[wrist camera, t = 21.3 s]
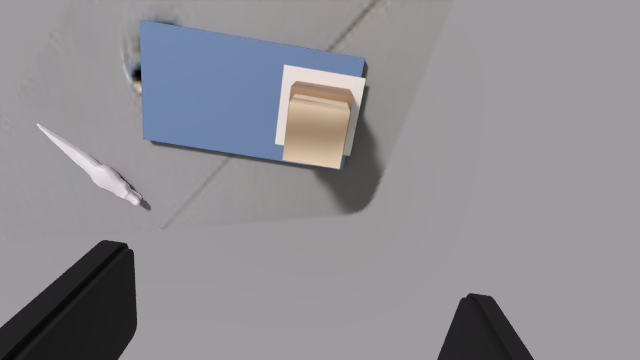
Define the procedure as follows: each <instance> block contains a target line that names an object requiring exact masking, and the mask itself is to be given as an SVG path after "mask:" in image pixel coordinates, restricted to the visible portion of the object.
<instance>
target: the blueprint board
mask: <svg viewBox="0 0 640 360" xmlns="http://www.w3.org/2000/svg"><path fill="white" fill-rule="evenodd" d="M140 45H141V78H142V112H143V139H145V140H151V141H158V142H164V143H170V144H177V145H183V146H189V147H196V148H202V149H208V150H215V151H221V152H227V153H234V154H240V155H246V156H253V157H259V158H265V159H272V160H278V161H284V162H291V161H285V160H282V159H283V151H284V141H285V132H286V123H287V115H288V106H289V98H290V89H291V86H292V85H293V84H294V82H295V81H302V82H308V83H314V84H321V85H327V86H333V87H339V88H346V89H350V90H351V92H352V94H353V96H354V99H353V104H352V109H351V115H350V120H349V126H348V131H347V136H346V142H345V147H344V153H343V157H342V159H341V164H340V169H336V168H330V167H323V166H317V165H311V164H304V163H298V162H291V163H297V164H303V165H310V166H316V167H322V168H329V169H335V170H341V171H343V167H344V162H345V157H346V156H350V154H351V149H352V144H353V139H354V134H355V129H356V124H357V119H358V114H359V109H360V104H361V99H362V94H363V89H364V84H365V79H366V78H361V76H362V71H363V66H364V61H365V58H360V57H354V56H348V55H342V54H336V53H331V52H325V51H319V50H313V49H307V48H302V47H296V46H290V45H284V44H278V43H273V42H267V41H261V40H255V39H249V38H244V37H238V36H232V35H226V34H220V33H214V32H209V31H203V30H197V29H191V28H185V27H180V26H174V25H168V24H162V23H156V22H151V21H145V20H140Z"/></svg>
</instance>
